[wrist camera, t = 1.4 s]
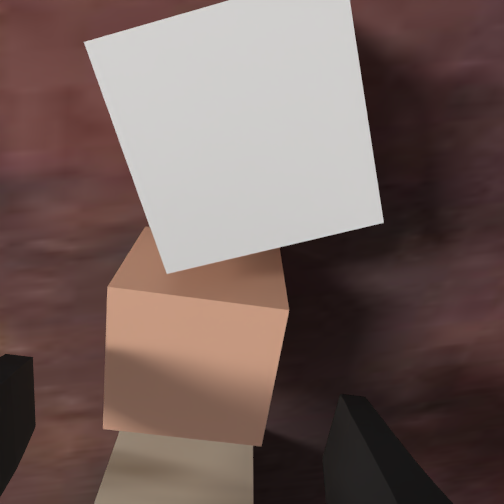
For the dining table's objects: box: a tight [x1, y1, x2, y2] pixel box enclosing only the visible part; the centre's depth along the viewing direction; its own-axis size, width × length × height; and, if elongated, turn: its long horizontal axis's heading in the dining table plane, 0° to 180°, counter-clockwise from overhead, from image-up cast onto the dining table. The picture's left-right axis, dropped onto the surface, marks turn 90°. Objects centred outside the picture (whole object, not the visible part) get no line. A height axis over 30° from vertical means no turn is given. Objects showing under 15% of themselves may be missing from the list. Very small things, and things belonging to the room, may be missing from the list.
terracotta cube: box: [103, 227, 289, 446], centre depth 14 cm, size 4×4×4 cm
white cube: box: [84, 0, 384, 274], centre depth 12 cm, size 5×5×5 cm
